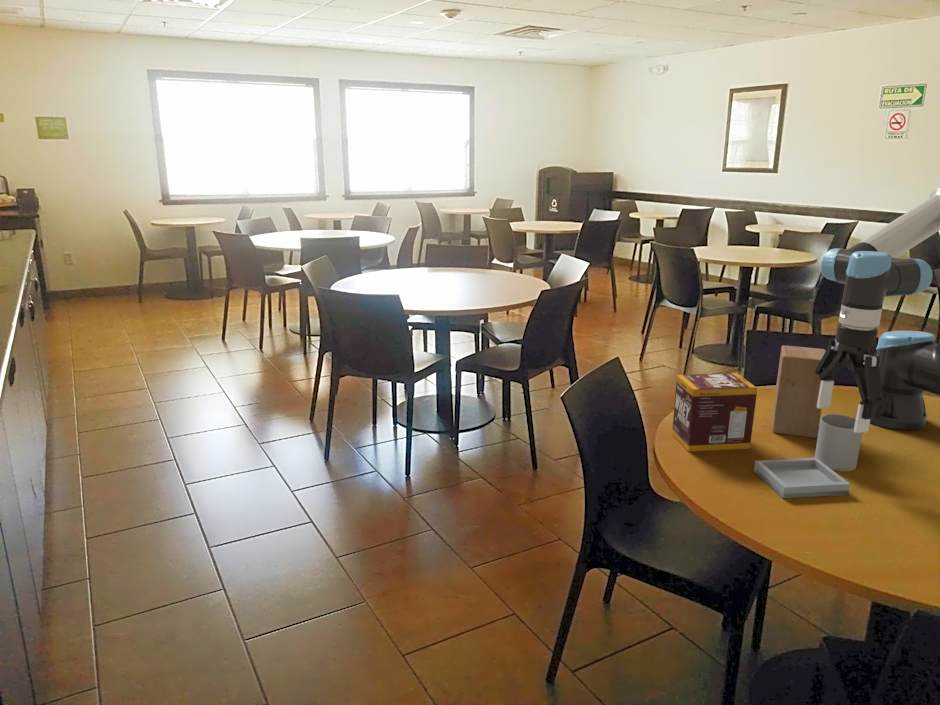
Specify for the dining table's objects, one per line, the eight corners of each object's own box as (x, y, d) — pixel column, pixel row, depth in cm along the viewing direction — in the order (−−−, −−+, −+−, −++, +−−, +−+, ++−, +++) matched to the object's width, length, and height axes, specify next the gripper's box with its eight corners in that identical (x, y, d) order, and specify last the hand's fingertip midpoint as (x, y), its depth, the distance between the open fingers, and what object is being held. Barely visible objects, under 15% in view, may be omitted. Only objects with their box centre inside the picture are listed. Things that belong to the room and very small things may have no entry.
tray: (814, 467, 152) (816, 457, 151) (848, 494, 140) (850, 483, 140) (753, 471, 151) (755, 460, 150) (782, 498, 139) (784, 487, 139)
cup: (861, 472, 150) (868, 430, 147) (820, 469, 151) (827, 427, 148) (849, 456, 157) (856, 415, 154) (810, 453, 159) (816, 413, 156)
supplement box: (670, 433, 170) (676, 374, 165) (731, 431, 171) (737, 372, 166) (686, 452, 160) (692, 389, 155) (750, 449, 161) (758, 386, 157)
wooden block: (772, 433, 170) (782, 355, 164) (771, 418, 179) (781, 344, 173) (817, 439, 166) (829, 360, 160) (814, 423, 175) (825, 348, 169)
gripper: (807, 311, 156) (794, 399, 162) (880, 342, 133) (860, 443, 139) (839, 311, 157) (824, 398, 163) (916, 342, 133) (895, 442, 139)
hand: (841, 419), depth 151 cm, fingers open, 13 cm apart
